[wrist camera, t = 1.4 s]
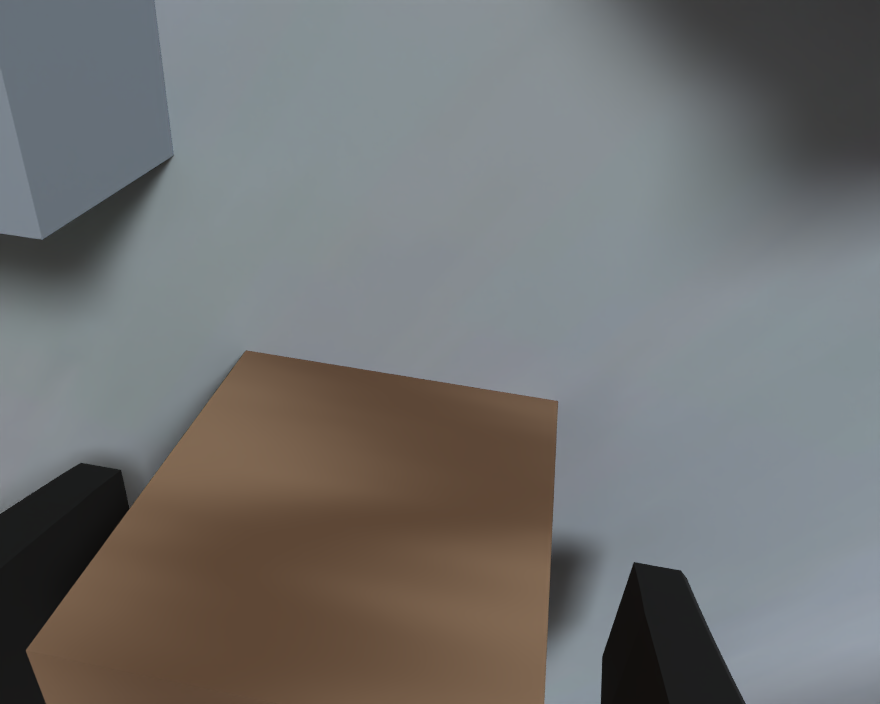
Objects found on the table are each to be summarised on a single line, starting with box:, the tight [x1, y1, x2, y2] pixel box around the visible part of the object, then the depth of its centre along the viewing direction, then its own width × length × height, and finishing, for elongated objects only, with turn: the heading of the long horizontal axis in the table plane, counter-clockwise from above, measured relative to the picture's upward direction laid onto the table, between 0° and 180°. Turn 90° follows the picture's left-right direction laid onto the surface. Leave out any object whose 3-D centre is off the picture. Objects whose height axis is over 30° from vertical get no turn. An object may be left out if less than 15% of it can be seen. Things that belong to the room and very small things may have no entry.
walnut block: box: [26, 351, 558, 704], centre depth 9 cm, size 4×4×5 cm
